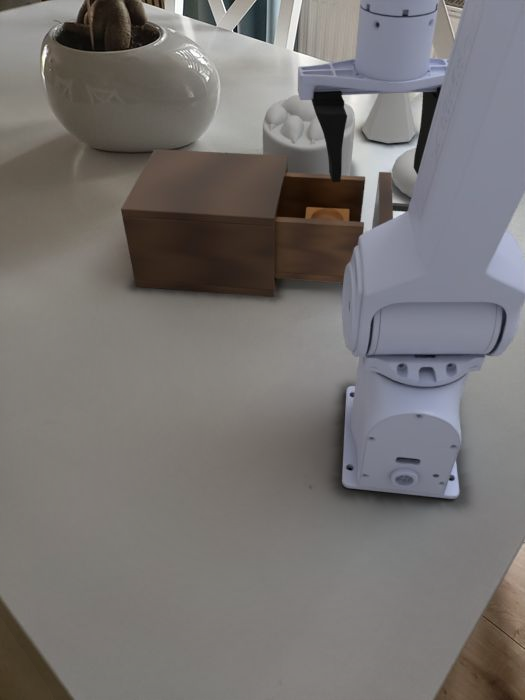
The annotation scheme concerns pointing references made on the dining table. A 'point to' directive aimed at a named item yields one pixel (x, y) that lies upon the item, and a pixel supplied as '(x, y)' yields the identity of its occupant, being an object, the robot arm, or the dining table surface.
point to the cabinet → (205, 221)
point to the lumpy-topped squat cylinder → (303, 137)
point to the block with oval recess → (327, 213)
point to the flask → (390, 119)
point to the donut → (405, 172)
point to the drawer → (324, 224)
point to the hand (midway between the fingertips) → (377, 174)
